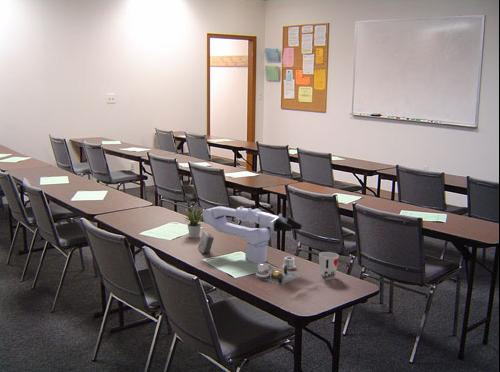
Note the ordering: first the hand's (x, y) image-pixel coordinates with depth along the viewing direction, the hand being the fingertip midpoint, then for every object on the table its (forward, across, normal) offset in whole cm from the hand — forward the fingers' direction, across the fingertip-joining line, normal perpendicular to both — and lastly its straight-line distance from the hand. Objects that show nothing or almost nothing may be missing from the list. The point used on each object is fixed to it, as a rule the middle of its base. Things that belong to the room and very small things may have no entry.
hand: (296, 227), depth 223 cm
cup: (+15, +8, +19) cm, 25 cm away
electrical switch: (-48, -1, +24) cm, 54 cm away
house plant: (-69, +15, +23) cm, 74 cm away
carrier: (-1, -8, +22) cm, 23 cm away
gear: (-4, +5, +20) cm, 21 cm away
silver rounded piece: (-5, -12, +21) cm, 25 cm away
